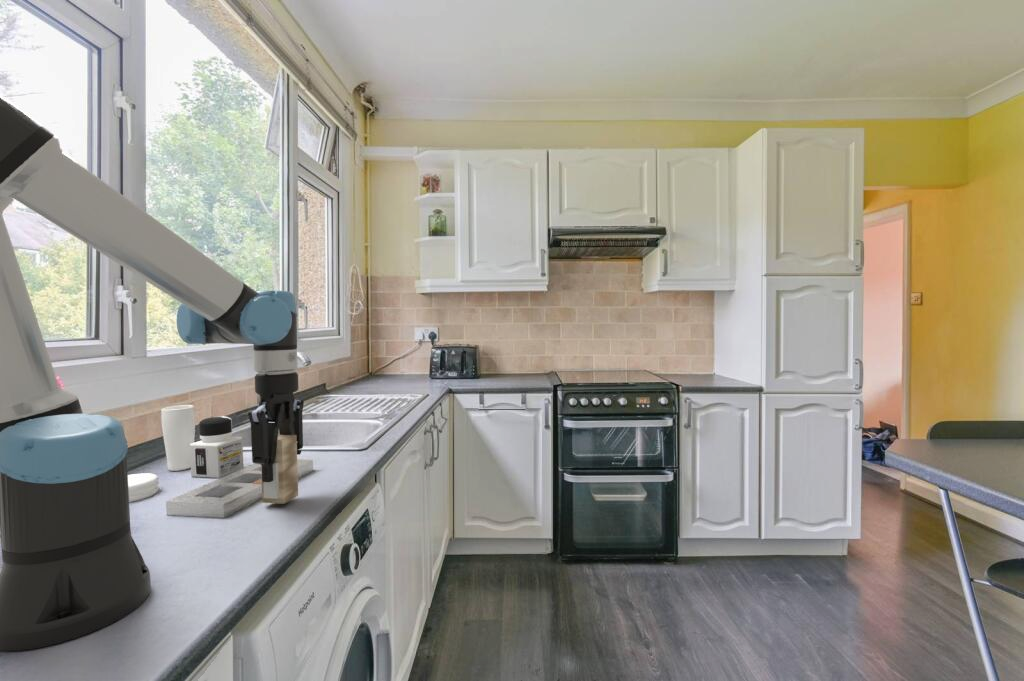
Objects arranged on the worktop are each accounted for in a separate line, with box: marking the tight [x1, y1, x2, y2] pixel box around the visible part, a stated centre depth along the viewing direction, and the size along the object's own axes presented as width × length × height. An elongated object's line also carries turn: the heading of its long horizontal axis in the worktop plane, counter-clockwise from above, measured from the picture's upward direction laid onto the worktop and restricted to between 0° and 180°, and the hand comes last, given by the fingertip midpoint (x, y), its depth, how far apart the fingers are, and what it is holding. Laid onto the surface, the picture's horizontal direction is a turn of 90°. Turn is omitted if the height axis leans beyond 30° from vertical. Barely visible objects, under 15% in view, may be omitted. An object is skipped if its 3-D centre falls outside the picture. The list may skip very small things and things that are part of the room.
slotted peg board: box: [165, 458, 314, 519], centre depth 103 cm, size 28×12×3 cm, turn 170°
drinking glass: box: [160, 404, 196, 472], centre depth 120 cm, size 7×7×15 cm
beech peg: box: [261, 433, 299, 505], centre depth 95 cm, size 4×4×12 cm
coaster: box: [128, 472, 160, 503], centre depth 101 cm, size 10×10×4 cm
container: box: [190, 416, 245, 479], centre depth 116 cm, size 8×8×13 cm
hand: (280, 492), depth 95 cm, fingers closed on beech peg, 4 cm apart
